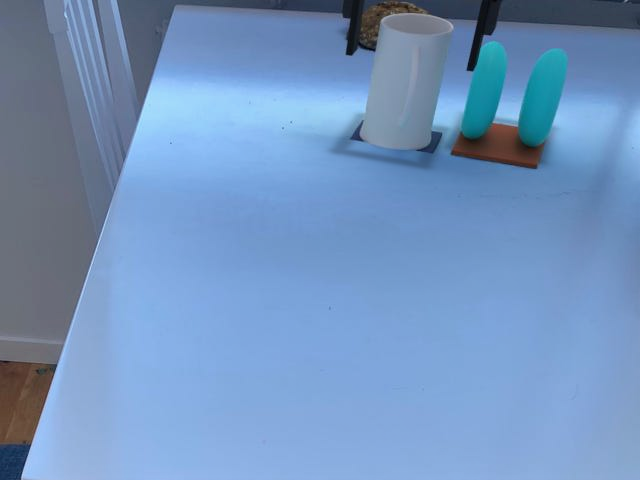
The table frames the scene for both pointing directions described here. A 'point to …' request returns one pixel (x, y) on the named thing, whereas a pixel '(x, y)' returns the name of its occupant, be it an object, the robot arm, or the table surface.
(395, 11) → the bread roll
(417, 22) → the mug
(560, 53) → the cyan capsule pair
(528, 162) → the terracotta mat
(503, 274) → the table surface
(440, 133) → the blue mat
